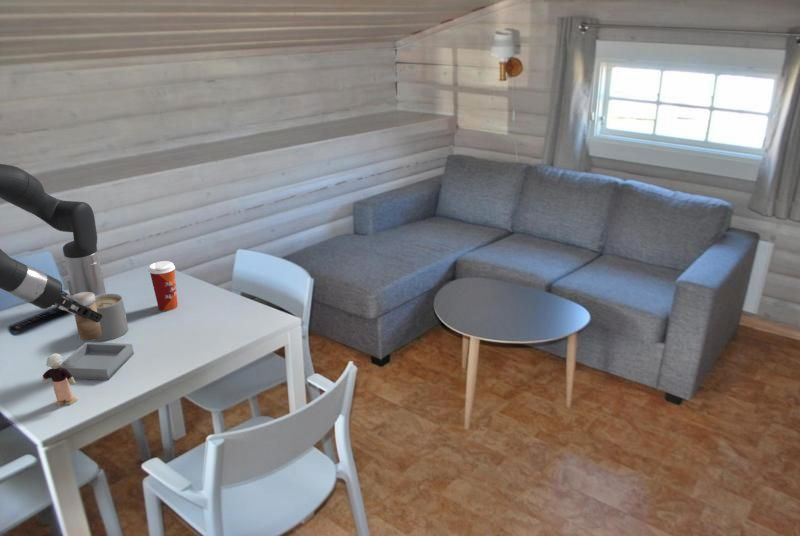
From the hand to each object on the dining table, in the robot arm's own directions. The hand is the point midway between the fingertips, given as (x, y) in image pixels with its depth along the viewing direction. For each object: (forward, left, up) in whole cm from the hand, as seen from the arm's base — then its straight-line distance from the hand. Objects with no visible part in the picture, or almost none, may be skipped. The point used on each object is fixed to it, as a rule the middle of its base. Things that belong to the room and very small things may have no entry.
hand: (94, 315), depth 162 cm
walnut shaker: (-1, -1, -5) cm, 5 cm away
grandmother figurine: (0, -18, -14) cm, 23 cm away
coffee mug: (-8, +18, -14) cm, 24 cm away
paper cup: (+2, +34, -14) cm, 37 cm away
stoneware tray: (-1, -1, -14) cm, 14 cm away
